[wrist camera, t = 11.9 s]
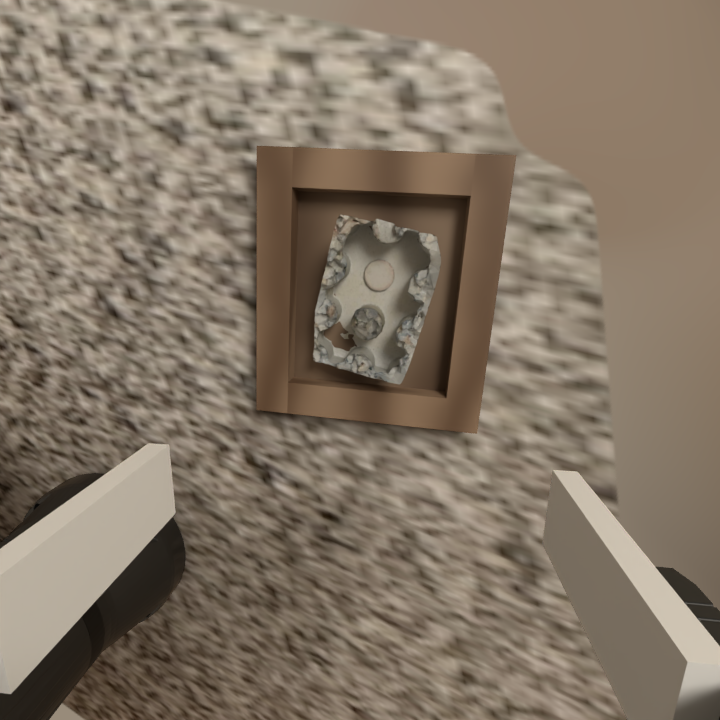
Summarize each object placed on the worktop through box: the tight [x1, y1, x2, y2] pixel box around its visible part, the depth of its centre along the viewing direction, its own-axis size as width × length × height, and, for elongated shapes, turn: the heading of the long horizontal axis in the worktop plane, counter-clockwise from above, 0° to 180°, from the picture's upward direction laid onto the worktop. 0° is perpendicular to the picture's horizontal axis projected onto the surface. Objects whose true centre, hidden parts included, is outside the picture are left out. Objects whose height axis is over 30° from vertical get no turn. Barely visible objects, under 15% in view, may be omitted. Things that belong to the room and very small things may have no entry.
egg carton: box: [313, 215, 441, 385], centre depth 29 cm, size 11×8×4 cm
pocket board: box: [256, 146, 516, 434], centre depth 31 cm, size 17×19×2 cm
